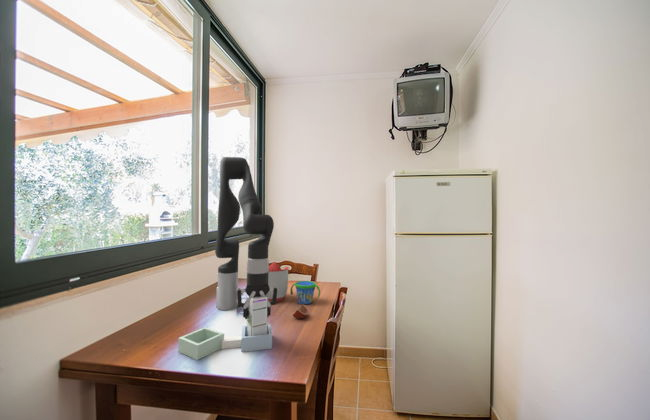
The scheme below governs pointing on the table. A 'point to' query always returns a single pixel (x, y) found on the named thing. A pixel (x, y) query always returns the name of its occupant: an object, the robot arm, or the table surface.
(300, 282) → the snack cup
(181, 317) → the table surface
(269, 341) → the holder caddy
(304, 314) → the fruit slice
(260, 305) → the syrup box
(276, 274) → the citrus juicer
